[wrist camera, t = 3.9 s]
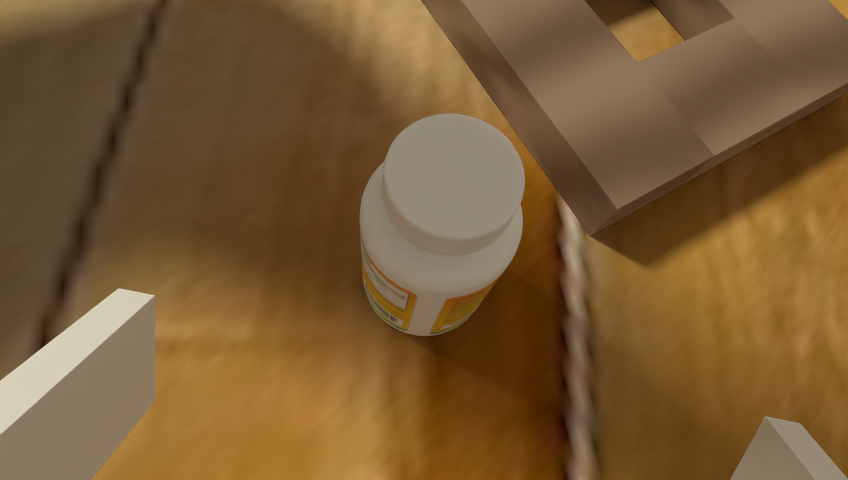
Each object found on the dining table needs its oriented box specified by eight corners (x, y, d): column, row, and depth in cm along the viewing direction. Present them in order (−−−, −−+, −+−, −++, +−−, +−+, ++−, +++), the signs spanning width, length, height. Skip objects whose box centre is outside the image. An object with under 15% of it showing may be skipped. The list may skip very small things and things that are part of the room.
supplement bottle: (487, 231, 25) (554, 106, 16) (477, 346, 23) (548, 278, 14) (372, 213, 25) (374, 76, 16) (352, 328, 23) (340, 247, 14)
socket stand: (403, -25, 30) (407, -73, 27) (643, -109, 35) (667, -158, 32) (590, 236, 25) (617, 209, 22) (840, 96, 30) (888, 60, 27)
